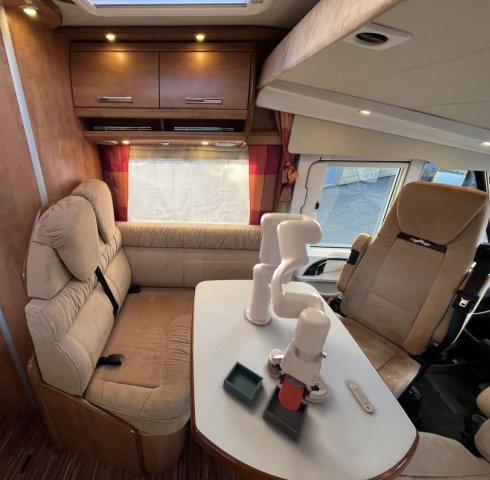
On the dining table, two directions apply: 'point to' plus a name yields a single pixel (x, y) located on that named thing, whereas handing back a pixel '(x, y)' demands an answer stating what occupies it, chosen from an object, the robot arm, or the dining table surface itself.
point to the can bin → (285, 415)
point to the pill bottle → (271, 365)
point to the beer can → (291, 392)
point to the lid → (319, 393)
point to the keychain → (360, 397)
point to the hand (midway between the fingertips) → (293, 387)
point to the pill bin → (243, 383)
